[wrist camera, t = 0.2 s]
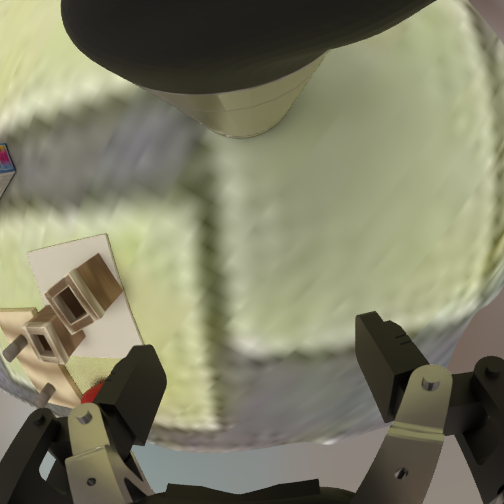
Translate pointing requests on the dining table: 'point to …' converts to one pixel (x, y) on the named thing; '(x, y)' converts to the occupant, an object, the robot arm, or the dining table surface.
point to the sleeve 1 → (84, 294)
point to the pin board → (37, 362)
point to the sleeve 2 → (51, 337)
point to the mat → (116, 316)
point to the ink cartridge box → (5, 168)
